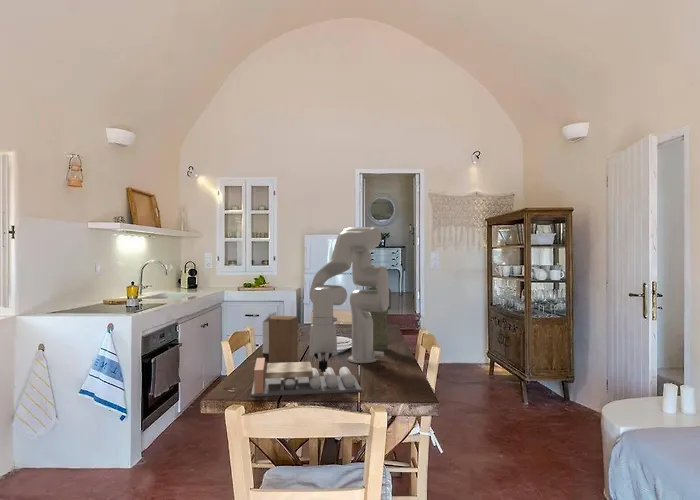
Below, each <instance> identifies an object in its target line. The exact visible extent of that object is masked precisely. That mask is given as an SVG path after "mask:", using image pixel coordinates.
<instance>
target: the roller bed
mask: <svg viewBox="0 0 700 500" xmlns="http://www.w3.org/2000/svg"><path fill="white" fill-rule="evenodd" d="M312 371H313V377H296V378H295V383H296V386H295V388H294V389H293V390H287V389H285V387H284V378H271V379H266V358H265V357H257V358H256V361H255V365H254V371H253V374H254V375H253V376H254V377H253V378H254V379H253V384H252V388H251V389H252V390H251V394H250V397H251V396H252V397H268V396H269V397H273V395H275V396H291V395H292V396H295V395H314V394H316V395H317V394H318V395H319V394H336V393H337V394H339V393H341V394H342V393H359V392H360V393H361V391H363V389H362V388H361V385H360V384H359V382H358V380H357V378H356V377H355V375H354V374H352V373H351V371H350V369H349V368H348V367H347V366H342V367H340V368H339V370H338V371H339V372H338V373H339V375H337V374H336V373H335V371H334V369H333V368H332V367H331V366H330V367H328V366H327V369H326V372H324V371H323V372H322V373H323V375H320V373H319V370H318V369H317V368H315V367H312Z"/></svg>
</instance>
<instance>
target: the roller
mask: <svg viewBox="0 0 700 500" xmlns="http://www.w3.org/2000/svg"><path fill="white" fill-rule="evenodd" d="M295 386H296V383H295V378H284V387H285V389H287V390H293V389H294V388H295Z"/></svg>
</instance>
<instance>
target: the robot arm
mask: <svg viewBox="0 0 700 500" xmlns="http://www.w3.org/2000/svg"><path fill="white" fill-rule="evenodd" d="M381 241H382V233H381V230H380V228H378V227H377V226H353V227H352V226H351V227H347V228H346V227H345V228H344V229H343V230H342V232H340V233H339V234H338V235H337V237H336V240H335V243H334V247H333V251H332V254H331V257H330V261H328V262H327V263H326V264H324V266H323V265H322V267H321V268H320V269H319V270H317V272H316V273H315V275H314V276H313V279H312V282H311V285H310V289H309V300H310V302H311V303H312V324H310V326H309V333H308V334H309V335H308V349H309V350H308V353H307V354H308V356H309V357H315V359H317V361H318V369H319V370H320V373H323V372H326V369H327V367H328V361H329V359H330V358H332V356H337V355H338V354H339V353H338V338H337V337H338V336H337V328H336V324H335V322H338V317H335V316H334V306H342V305H343V304H344V303H345V302H346V301H347V298H348V291H347V290H346V288H345V287H344V286H342V285H336V284H335V285H334V284H333V285H331V284H325V283H326V282H327V281H328V280H330V279H332V278H333V277H336V276H338V275H340V274H343V273H345V272H347V271H349V270H350V269H351V267H352V274H351V275H352V276H351V277H352V282H353V285H355V286H357V287H362V288H363V287H364V288H365V287H366V288H371V287H376V289H377V290H368V289H355V290H353V291H352V292H351V293H350V295H349V304H350V305H349V306H350V311H351V355H350V356H348V361H349V362H351V363H355V364H369V363H370V364H371V363H374V362H377V360H378V359H377V357H385V351H374V350H373V319H372V317H371V314H370V311H373V312H384V311H386V310H387V309H388V306H389V289H390V287H389V286H390V285H389V283H390V282H389V271H388V270H387V268H386V267H385V266H383V265H373V264H372V254H371V252H370V251H372V250H374V249H376V248H377V247H378V246H379V245H380V244H381ZM323 353H324V358H322V354H323Z"/></svg>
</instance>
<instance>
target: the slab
mask: <svg viewBox="0 0 700 500" xmlns="http://www.w3.org/2000/svg"><path fill="white" fill-rule="evenodd" d="M266 365H267V366H266V371H265V378H266V379H271V378H296V377H313V371H312V368H313V367H312V363H311V361H297V362H286V363H269V362H267V364H266Z"/></svg>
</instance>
